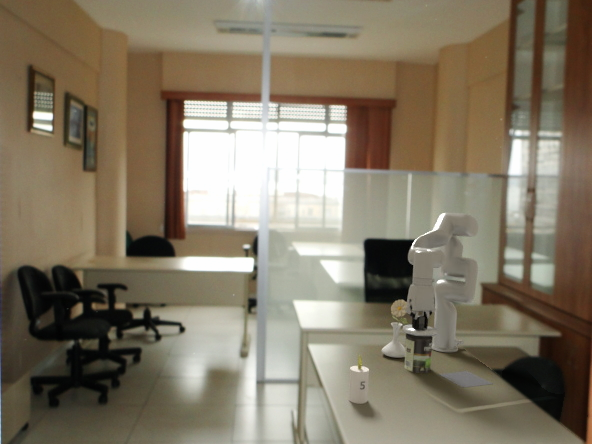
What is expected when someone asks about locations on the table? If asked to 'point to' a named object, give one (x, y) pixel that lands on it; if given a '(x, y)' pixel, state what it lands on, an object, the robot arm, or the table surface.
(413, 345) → the coffee can
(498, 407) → the table surface
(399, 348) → the flower in vase
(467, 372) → the mat
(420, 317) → the lid
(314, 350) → the table surface
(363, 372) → the candle
